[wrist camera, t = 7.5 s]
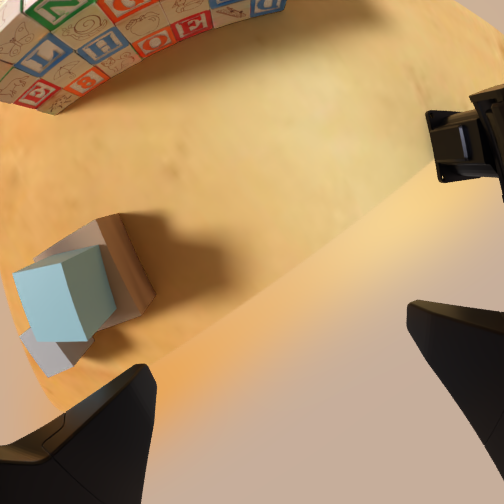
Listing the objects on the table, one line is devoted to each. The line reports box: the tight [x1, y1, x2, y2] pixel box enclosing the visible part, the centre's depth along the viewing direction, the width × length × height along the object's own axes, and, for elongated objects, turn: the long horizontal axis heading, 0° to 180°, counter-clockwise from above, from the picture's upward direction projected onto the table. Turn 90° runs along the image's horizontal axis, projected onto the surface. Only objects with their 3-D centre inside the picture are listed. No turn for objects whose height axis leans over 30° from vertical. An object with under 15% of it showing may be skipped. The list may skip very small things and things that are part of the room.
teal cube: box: [13, 245, 117, 342], centre depth 14 cm, size 4×4×4 cm
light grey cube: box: [19, 327, 95, 377], centre depth 19 cm, size 4×4×4 cm
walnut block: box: [33, 213, 156, 332], centre depth 18 cm, size 7×7×4 cm
